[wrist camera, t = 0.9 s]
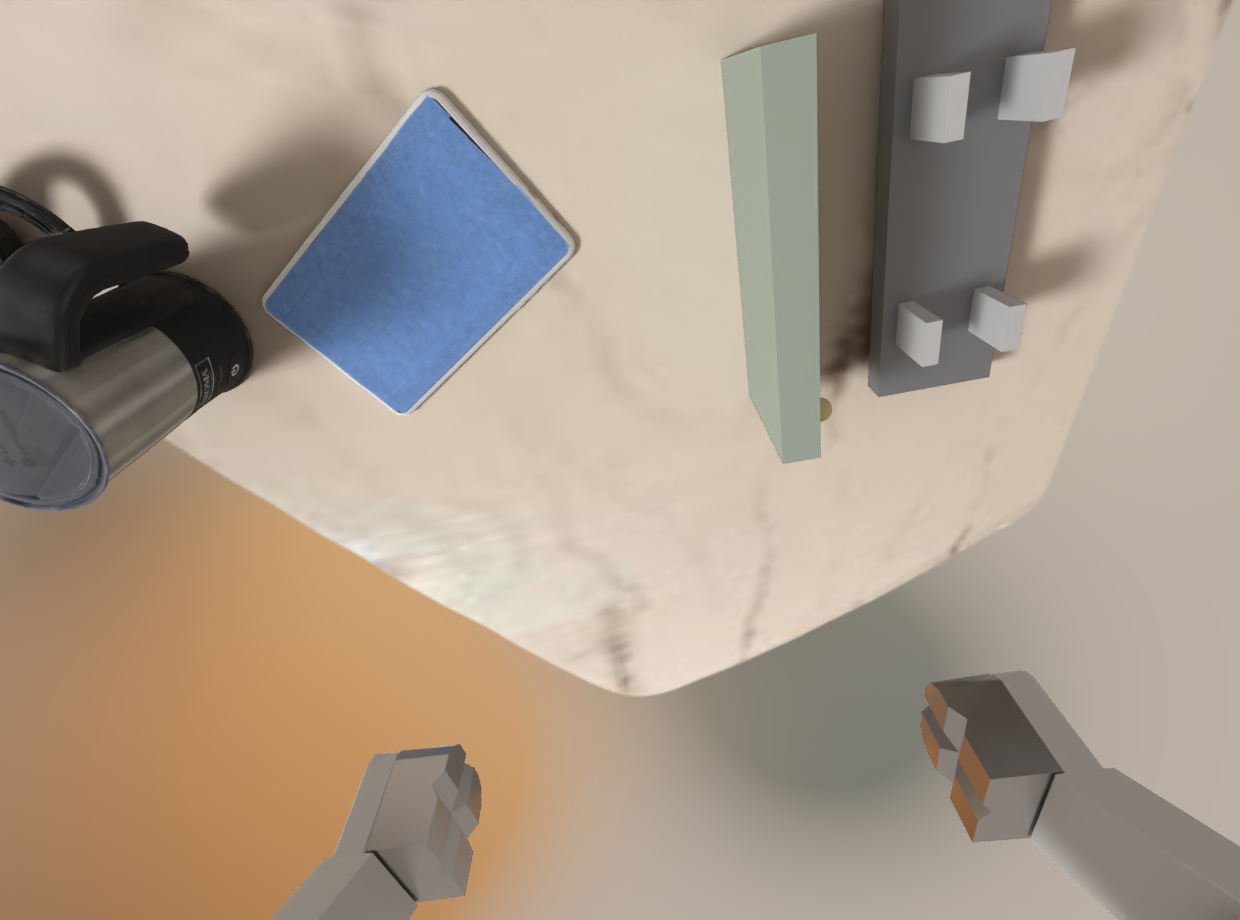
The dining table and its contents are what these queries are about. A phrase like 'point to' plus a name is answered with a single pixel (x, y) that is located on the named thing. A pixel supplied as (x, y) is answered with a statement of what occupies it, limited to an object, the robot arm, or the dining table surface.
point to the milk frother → (100, 352)
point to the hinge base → (953, 182)
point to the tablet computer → (419, 258)
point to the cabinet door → (778, 235)
